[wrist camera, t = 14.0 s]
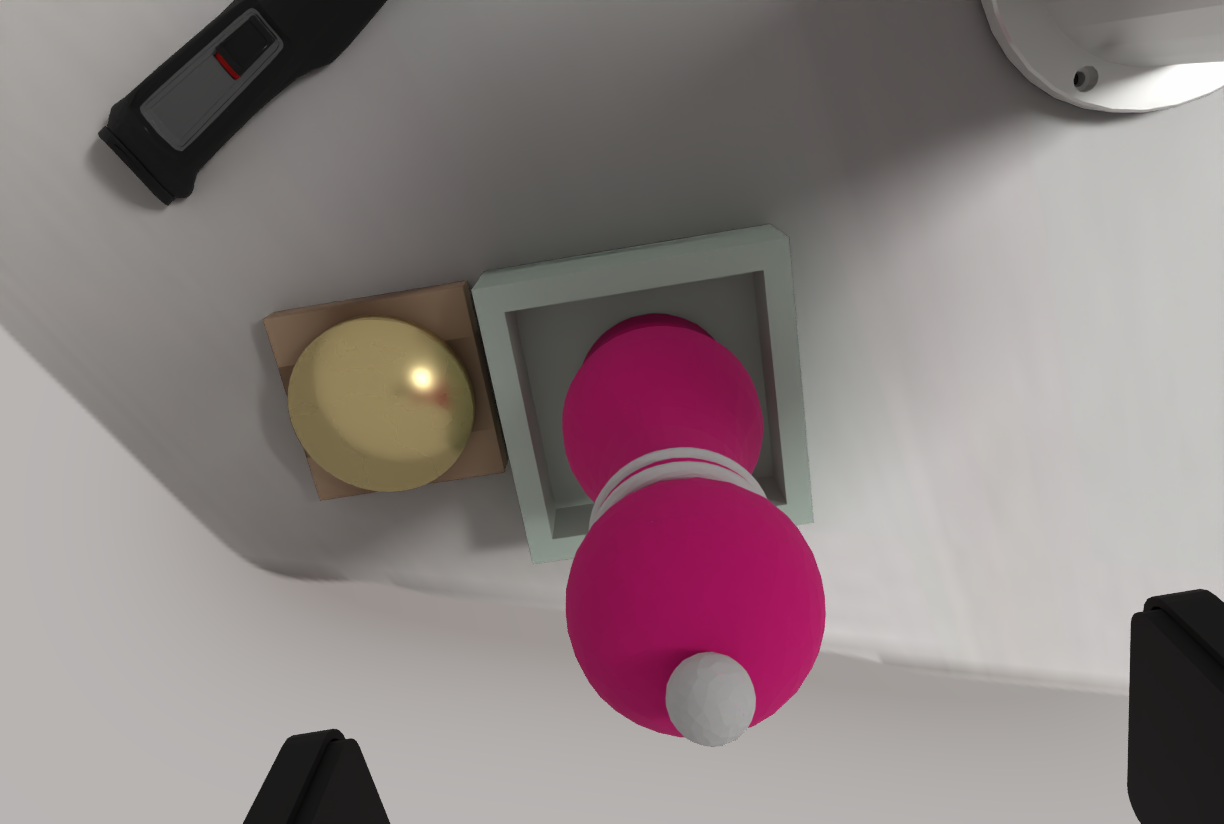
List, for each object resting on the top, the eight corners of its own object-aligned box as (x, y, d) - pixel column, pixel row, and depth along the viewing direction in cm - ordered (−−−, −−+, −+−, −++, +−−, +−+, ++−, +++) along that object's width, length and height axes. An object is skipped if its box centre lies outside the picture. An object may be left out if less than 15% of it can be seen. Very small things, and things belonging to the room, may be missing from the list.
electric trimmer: (482, -58, 30) (470, -77, 27) (179, 212, 33) (137, 222, 30) (411, -157, 29) (390, -188, 26) (104, 131, 32) (53, 133, 29)
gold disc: (456, 295, 33) (449, 305, 32) (495, 459, 36) (489, 477, 34) (280, 324, 34) (263, 335, 32) (330, 485, 36) (317, 504, 34)
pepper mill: (545, 439, 35) (480, 827, 17) (596, 276, 33) (588, 514, 14) (707, 486, 36) (820, 905, 17) (768, 330, 34) (975, 622, 15)
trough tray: (770, 224, 33) (789, 237, 30) (795, 485, 37) (813, 522, 34) (483, 271, 34) (471, 289, 30) (538, 523, 38) (532, 564, 34)
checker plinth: (467, 280, 34) (462, 286, 33) (507, 460, 36) (504, 472, 35) (274, 312, 34) (262, 319, 33) (328, 488, 37) (320, 500, 36)
